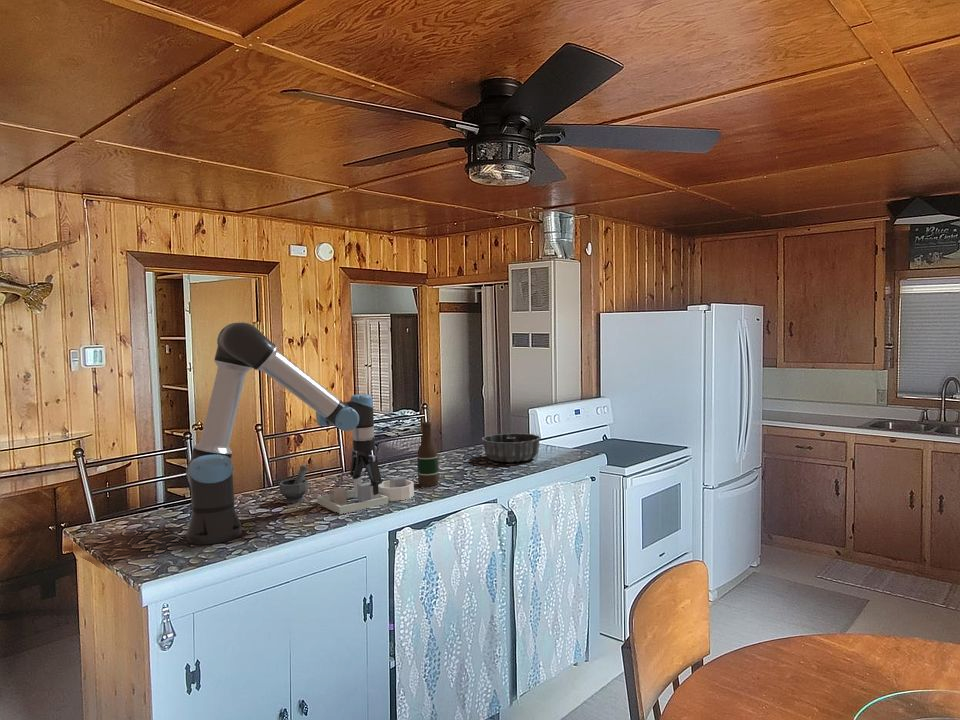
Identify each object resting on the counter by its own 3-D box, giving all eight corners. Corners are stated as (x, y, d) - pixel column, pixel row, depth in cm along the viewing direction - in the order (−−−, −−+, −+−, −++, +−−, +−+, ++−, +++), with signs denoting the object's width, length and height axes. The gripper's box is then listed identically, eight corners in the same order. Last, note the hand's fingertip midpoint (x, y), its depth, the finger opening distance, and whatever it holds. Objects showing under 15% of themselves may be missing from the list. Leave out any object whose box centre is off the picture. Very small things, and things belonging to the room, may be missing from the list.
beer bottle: (442, 484, 249) (440, 421, 248) (427, 488, 244) (425, 424, 242) (429, 481, 255) (427, 420, 253) (414, 485, 249) (411, 422, 248)
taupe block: (334, 509, 219) (334, 491, 219) (330, 507, 222) (329, 489, 222) (347, 506, 222) (346, 489, 222) (342, 504, 225) (341, 487, 224)
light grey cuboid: (362, 503, 226) (361, 486, 225) (358, 501, 228) (357, 484, 228) (374, 500, 228) (373, 483, 228) (369, 498, 231) (368, 482, 231)
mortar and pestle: (292, 506, 224) (291, 471, 224) (274, 502, 229) (272, 469, 229) (317, 498, 234) (315, 465, 233) (299, 495, 239) (297, 463, 238)
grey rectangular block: (394, 496, 230) (394, 479, 229) (390, 494, 233) (389, 478, 232) (406, 494, 232) (405, 477, 232) (401, 492, 235) (400, 476, 235)
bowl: (389, 503, 224) (388, 490, 224) (370, 496, 235) (370, 483, 234) (420, 496, 232) (420, 483, 232) (401, 489, 243) (401, 477, 242)
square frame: (340, 514, 213) (339, 507, 213) (317, 503, 227) (316, 496, 227) (388, 503, 224) (388, 496, 224) (363, 494, 238) (363, 487, 238)
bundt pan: (486, 453, 307) (485, 432, 306) (542, 453, 303) (541, 432, 303) (478, 465, 281) (477, 442, 280) (539, 465, 277) (539, 442, 277)
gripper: (390, 441, 220) (393, 504, 221) (357, 433, 239) (360, 491, 240) (370, 444, 216) (373, 509, 217) (338, 436, 235) (341, 495, 236)
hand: (366, 500), depth 229 cm, fingers open, 12 cm apart
